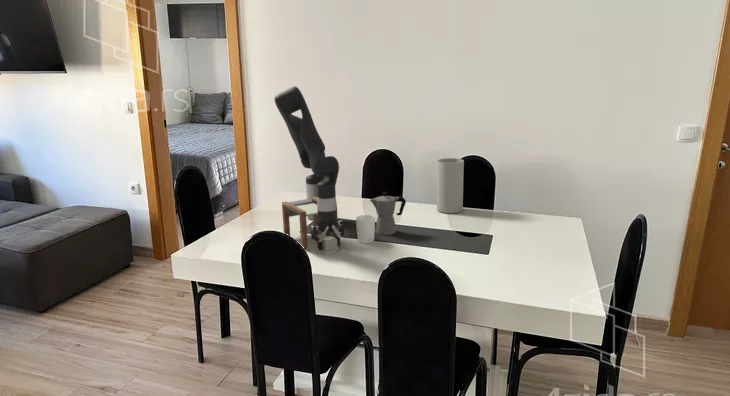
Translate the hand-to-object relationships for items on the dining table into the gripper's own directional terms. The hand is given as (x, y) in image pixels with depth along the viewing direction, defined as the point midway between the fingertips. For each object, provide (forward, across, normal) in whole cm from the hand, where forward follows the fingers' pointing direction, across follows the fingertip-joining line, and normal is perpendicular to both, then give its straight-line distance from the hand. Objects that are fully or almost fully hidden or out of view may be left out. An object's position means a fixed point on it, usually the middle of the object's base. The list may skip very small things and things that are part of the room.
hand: (328, 248), depth 203 cm
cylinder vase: (+1, -76, -14) cm, 77 cm away
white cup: (+1, -18, -1) cm, 18 cm away
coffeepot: (+1, -32, -5) cm, 32 cm away
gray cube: (+1, 0, 0) cm, 1 cm away
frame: (+1, 0, -16) cm, 16 cm away
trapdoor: (-8, 0, -19) cm, 21 cm away
